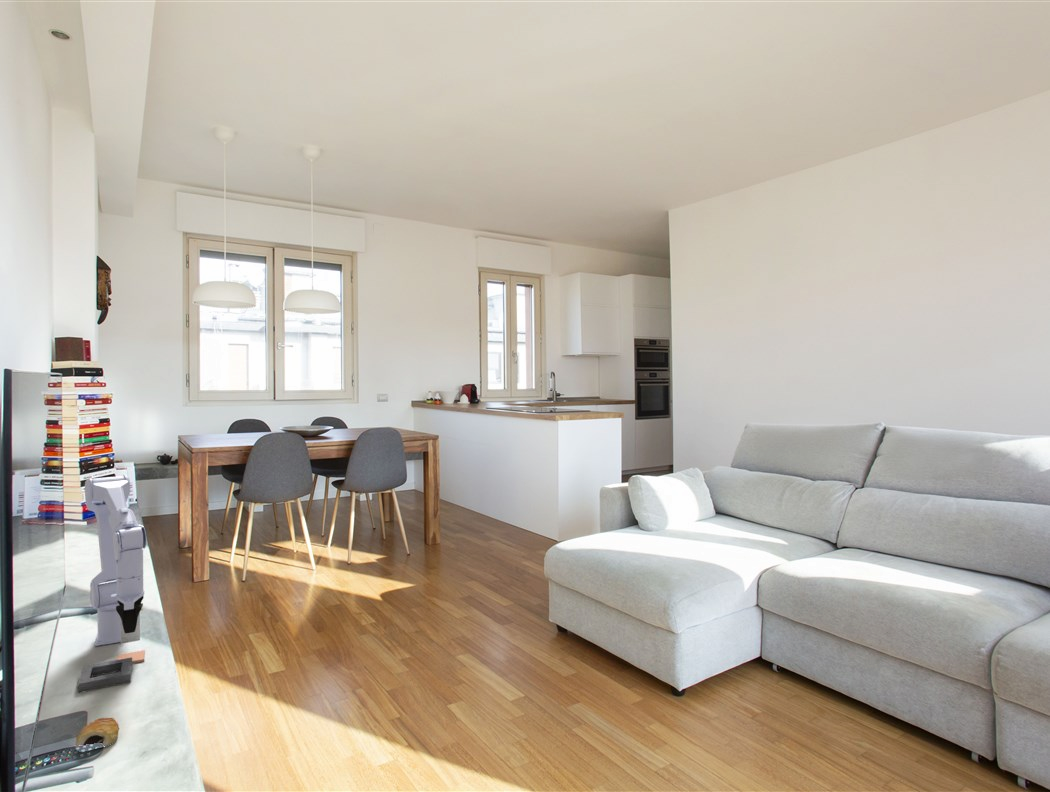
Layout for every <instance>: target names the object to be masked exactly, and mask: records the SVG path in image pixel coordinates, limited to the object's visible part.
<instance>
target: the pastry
mask: <svg viewBox="0 0 1050 792" xmlns="http://www.w3.org/2000/svg"><path fill="white" fill-rule="evenodd" d="M119 730H120V726H119V723H118V721H117V720H116V718H114V717H100V718H98V719H95V720H94V721H92V722H89V723H88V724H86V725H85V726H83V728H82V729H81V731H80V732H79V733H77V736H76V740H75V745H74V747H75V746H79V745H86V744H94V743H102V744H103V745H104V746H105V748H107V747H108V745H109V746H111V745H112V743H113V744H114V743H115V742H116V741H117V739H118V738H119ZM110 744H111V745H110ZM106 746H107V747H106Z"/></svg>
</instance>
